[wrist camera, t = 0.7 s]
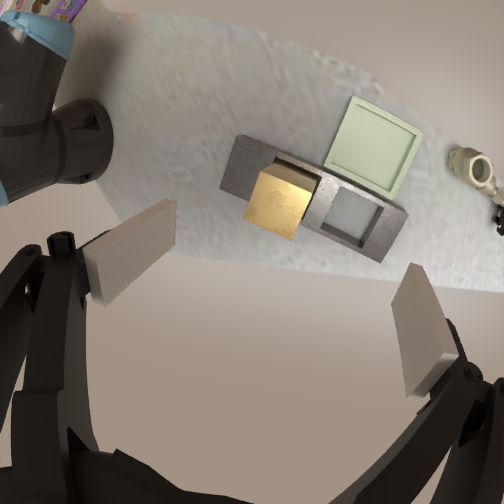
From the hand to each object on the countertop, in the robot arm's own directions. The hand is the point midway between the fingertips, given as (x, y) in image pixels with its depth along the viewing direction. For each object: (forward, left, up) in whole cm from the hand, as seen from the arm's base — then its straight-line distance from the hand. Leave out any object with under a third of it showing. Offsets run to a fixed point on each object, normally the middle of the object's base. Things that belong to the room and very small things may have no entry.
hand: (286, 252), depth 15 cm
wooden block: (-2, -2, -21) cm, 21 cm away
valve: (+19, +10, -22) cm, 31 cm away
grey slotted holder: (+1, -2, -21) cm, 21 cm away
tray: (+5, +6, -21) cm, 23 cm away
